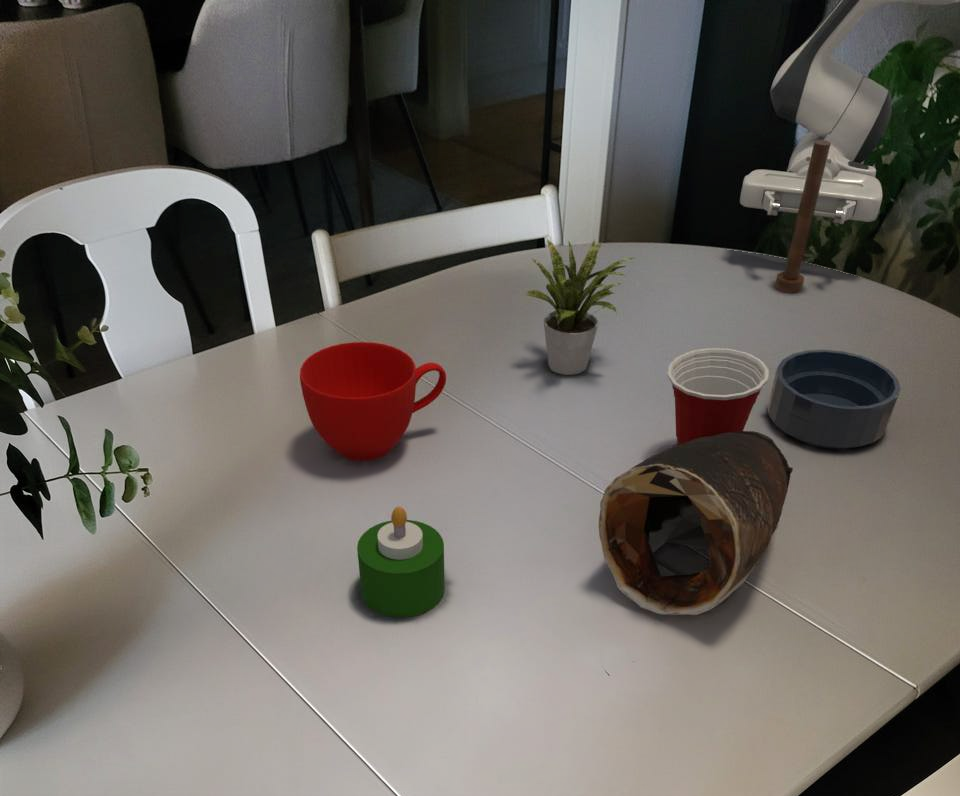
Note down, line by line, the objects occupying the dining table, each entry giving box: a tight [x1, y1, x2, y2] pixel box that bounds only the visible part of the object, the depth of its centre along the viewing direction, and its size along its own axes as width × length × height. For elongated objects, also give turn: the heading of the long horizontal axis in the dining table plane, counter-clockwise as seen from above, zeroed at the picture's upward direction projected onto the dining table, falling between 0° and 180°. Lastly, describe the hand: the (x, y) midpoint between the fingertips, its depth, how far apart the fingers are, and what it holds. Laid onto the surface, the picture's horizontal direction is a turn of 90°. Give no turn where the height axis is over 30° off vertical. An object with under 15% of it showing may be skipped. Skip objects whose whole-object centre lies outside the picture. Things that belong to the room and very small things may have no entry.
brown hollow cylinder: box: [598, 430, 794, 616], centre depth 98 cm, size 15×15×25 cm
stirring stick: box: [774, 140, 831, 294], centre depth 142 cm, size 4×4×21 cm
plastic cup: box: [667, 347, 770, 445], centre depth 110 cm, size 11×11×12 cm
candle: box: [356, 506, 446, 618], centre depth 93 cm, size 8×8×10 cm
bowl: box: [767, 349, 901, 450], centre depth 119 cm, size 14×14×6 cm
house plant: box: [524, 238, 637, 376], centre depth 124 cm, size 14×14×16 cm
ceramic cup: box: [299, 341, 447, 462], centre depth 113 cm, size 13×17×10 cm
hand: (806, 214), depth 141 cm, fingers open, 8 cm apart
